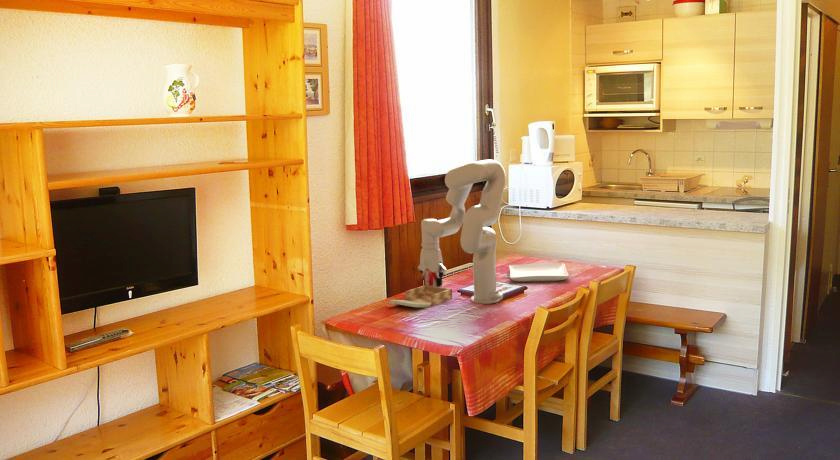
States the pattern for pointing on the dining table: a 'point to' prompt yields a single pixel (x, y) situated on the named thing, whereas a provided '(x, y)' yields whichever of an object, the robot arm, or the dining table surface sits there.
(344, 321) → the dining table surface
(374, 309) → the dining table surface
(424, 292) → the crate
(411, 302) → the panel
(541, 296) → the dining table surface
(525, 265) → the square plate
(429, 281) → the soda can
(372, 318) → the dining table surface
